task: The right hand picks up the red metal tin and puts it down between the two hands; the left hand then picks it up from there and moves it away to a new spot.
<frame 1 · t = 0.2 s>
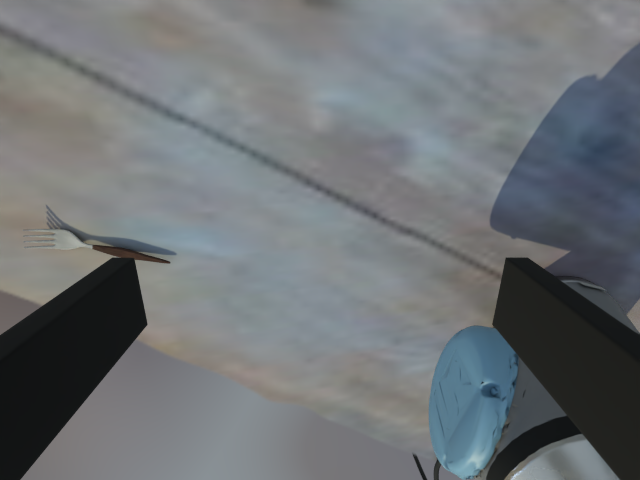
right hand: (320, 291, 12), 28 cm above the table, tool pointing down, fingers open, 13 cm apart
fork: (106, 246, 42), on the table
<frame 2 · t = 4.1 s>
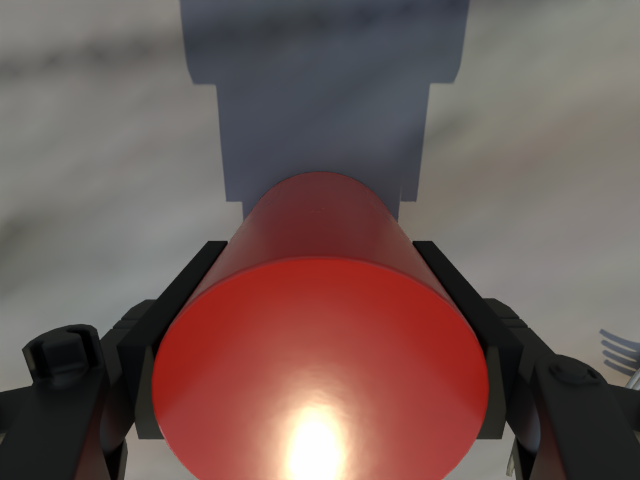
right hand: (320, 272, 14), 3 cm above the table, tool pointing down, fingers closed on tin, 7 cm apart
tin: (320, 247, 17), on the table, touching right hand
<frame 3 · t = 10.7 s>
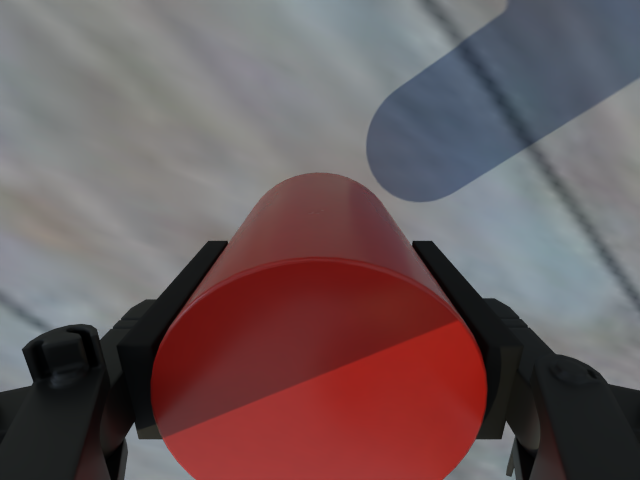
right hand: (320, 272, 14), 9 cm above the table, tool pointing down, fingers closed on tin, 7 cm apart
tin: (319, 248, 17), point 6 cm above the table, touching right hand
when the right hand's fingers open (4 cm above the table, at t = 17.3 s): tin drops 2 cm, on the table.
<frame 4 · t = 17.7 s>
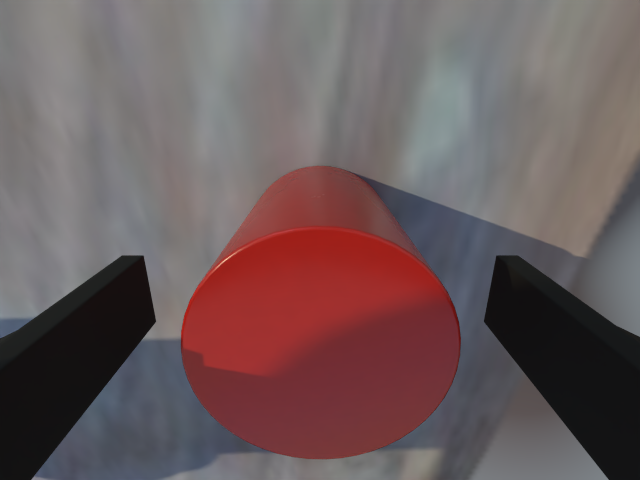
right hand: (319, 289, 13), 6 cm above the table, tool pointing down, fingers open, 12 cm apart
tin: (320, 235, 18), on the table
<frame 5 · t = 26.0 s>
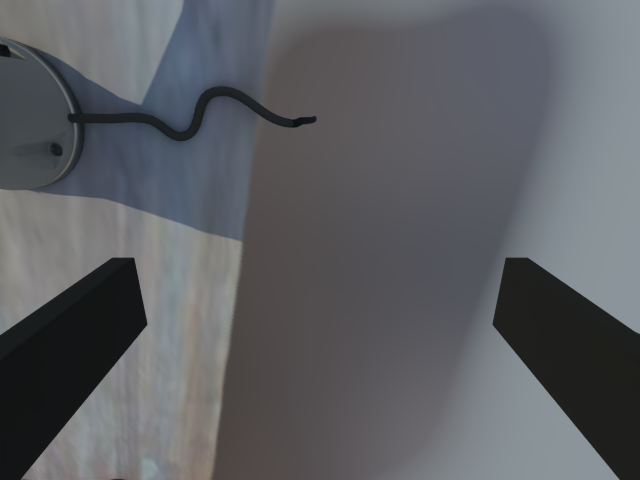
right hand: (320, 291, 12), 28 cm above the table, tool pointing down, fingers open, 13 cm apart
when the left hand's fingers open (4 cm above the table, at t = 33.7 s): tin drops 2 cm, on the table.
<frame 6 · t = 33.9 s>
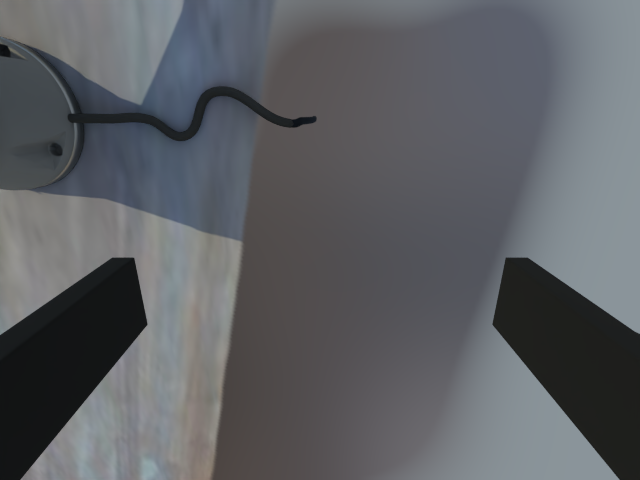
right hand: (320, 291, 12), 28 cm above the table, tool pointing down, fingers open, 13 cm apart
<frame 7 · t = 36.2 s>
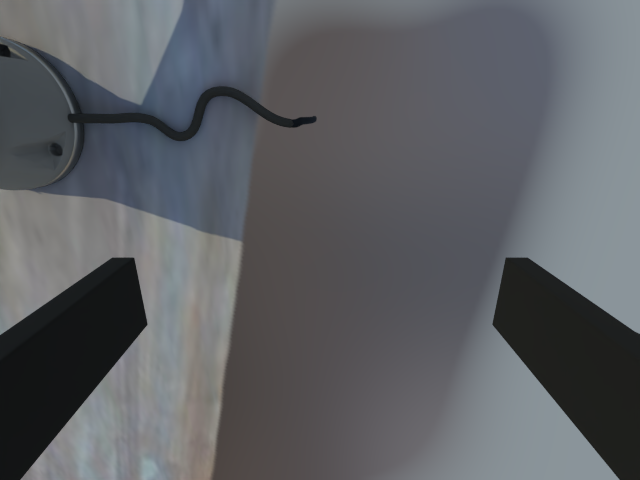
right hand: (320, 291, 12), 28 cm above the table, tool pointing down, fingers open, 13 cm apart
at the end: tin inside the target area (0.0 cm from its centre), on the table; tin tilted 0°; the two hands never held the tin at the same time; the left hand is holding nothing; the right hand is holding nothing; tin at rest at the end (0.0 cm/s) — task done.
